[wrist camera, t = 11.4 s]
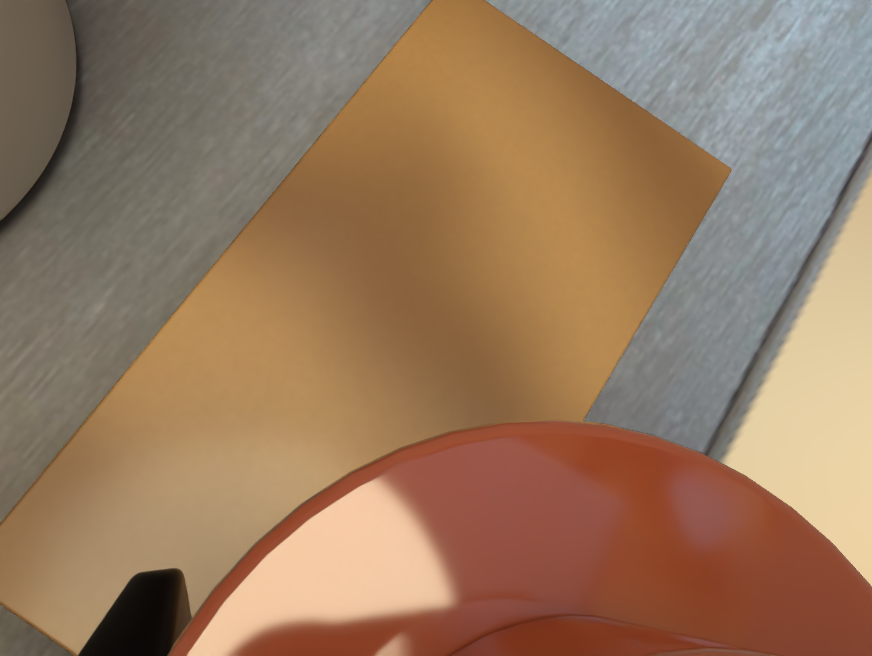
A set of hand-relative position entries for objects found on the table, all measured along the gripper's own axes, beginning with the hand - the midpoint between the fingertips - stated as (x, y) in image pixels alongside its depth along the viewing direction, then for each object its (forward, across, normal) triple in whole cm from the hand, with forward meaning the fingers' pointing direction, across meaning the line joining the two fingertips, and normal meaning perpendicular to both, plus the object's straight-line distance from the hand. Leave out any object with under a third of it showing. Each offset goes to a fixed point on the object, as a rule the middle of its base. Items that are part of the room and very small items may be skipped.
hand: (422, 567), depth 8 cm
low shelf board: (+13, -2, +5) cm, 14 cm away
